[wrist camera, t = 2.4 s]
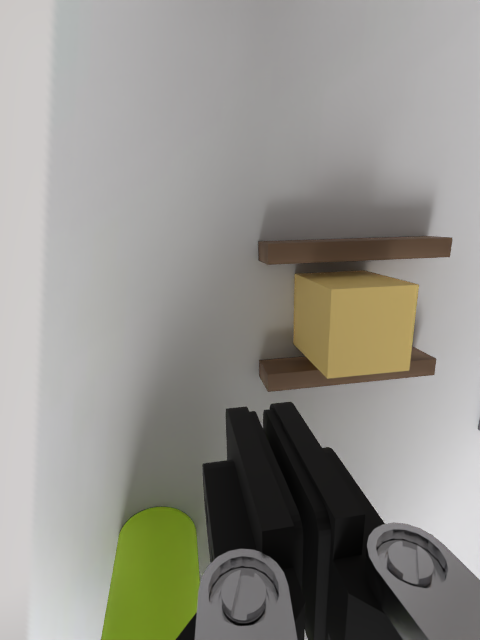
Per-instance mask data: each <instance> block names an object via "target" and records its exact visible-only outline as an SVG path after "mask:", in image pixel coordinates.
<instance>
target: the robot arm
mask: <svg viewBox="0 0 480 640" xmlns="http://www.w3.org/2000/svg"><path fill="white" fill-rule="evenodd" d="M226 437H227V461H220V462H212V463H204V464H203V465H202V467H203V487H204V502H205V514H206V525H207V534H208V543H209V552H210V561H211V563H210V564H209V565H208V567H207V569H206V570H205V572H204V574H203V575H202V577H201V581H200V586H199V590H198V602H197V612H196V614H195V615H194V616H193V618H192V619H191V620H190V621H189V623H188V624H187V625H186V627H185V628H184V629H183V631H182V632H181V633H180V634H179V636H178V637H177V638H176V640H304V629H305V631H306V635H307V638H308V640H480V580H479V579H478V578H477V577H476V576H475V575H474V574H473V573H472V572H471V571H470V570H469V569H468V568H467V567H466V566H465V565H464V564H463V563H462V562H461V561H460V560H459V559H458V558H457V557H456V556H455V555H454V554H453V553H452V552H451V551H450V550H449V549H448V548H447V547H446V546H445V545H444V544H442V543H441V542H440V541H439V540H438V539H436V538H435V537H434V536H433V535H431V534H429V533H427V532H426V531H424V530H422V529H420V528H418V527H414V526H411V525H408V524H403V523H388V524H385V523H384V522H383V521H382V519H381V518H380V516H379V515H378V513H377V512H376V511H375V509H374V508H373V506H372V505H371V503H370V502H369V501H368V499H367V498H366V496H365V495H364V493H363V492H362V490H361V489H360V488H359V486H358V485H357V483H356V482H355V480H354V479H353V478H352V476H351V475H350V473H349V472H348V470H347V469H346V468H345V466H344V465H343V463H342V462H341V460H340V459H339V458H338V456H337V455H336V453H335V452H334V451H333V450H332V449H331V448H329V447H326V448H322V447H321V446H320V444H319V443H318V441H317V439H316V438H315V436H314V435H313V433H312V432H311V430H310V429H309V427H308V426H307V424H306V423H305V421H304V420H303V418H302V417H301V415H300V414H299V412H298V410H297V409H296V407H295V406H294V404H293V403H292V402H285V403H276V404H271V405H270V410H264V413H263V428H262V426H261V423H260V421H259V419H258V416H257V414H256V412H255V411H252V412H249V410H248V408H247V407H238V408H229V409H226Z"/></svg>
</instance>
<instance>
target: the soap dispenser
mask: <svg viewBox="0 0 480 640" xmlns="http://www.w3.org/2000/svg"><path fill="white" fill-rule="evenodd" d="M199 586H200V575H199V562H198V548H197V535H196V528H195V525H194V523H193V521H192V520H191V519H190V517H189V516H187V515H186V514H185V513H183V512H182V511H180V510H177V509H174V508H170V507H154V508H149V509H146V510H143V511H141V512H139V513H137V514H136V515H134V516H133V517H131V518H130V519H129V520H128V521H127V522H126V523H125V525H124V526H123V528H122V529H121V531H120V534H119V538H118V544H117V550H116V556H115V561H114V567H113V573H112V579H111V585H110V591H109V596H108V602H107V608H106V614H105V620H104V626H103V631H102V637H101V640H176V638H177V637H178V636H179V634H180V633H181V632H182V631H183V629H184V628H185V627H186V625H187V624H188V623H189V621H190V620H191V619H192V618H193V616H194V615H195V614H196V612H197V602H198V590H199Z"/></svg>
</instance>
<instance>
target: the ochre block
mask: <svg viewBox="0 0 480 640" xmlns="http://www.w3.org/2000/svg"><path fill="white" fill-rule="evenodd" d="M418 288H419V285H418V284H414V283H410V282H407V281H403V280H399V279H395V278H391V277H387V276H383V275H380V274H376V273H372V272H368V271H364V270H361V271H340V272H319V273H298V274H295V287H294V337H293V344H294V345H295V346H296V347H297V348H298V349H299V350H300V351H301V352H302V353H303V354H304V355H305V356H306V357H307V358H308V359H309V360H310V361H311V363H312V364H313V365H314V366H315V367H316V368H317V369H318V370H319V371H320V372H321V373H322V374H323V375H324V376H325V377H326V378H327V379H329V378H339V377H349V376H359V375H369V374H379V373H390V372H400V371H409V368H410V360H411V351H412V342H413V333H414V324H415V315H416V306H417V297H418Z"/></svg>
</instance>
